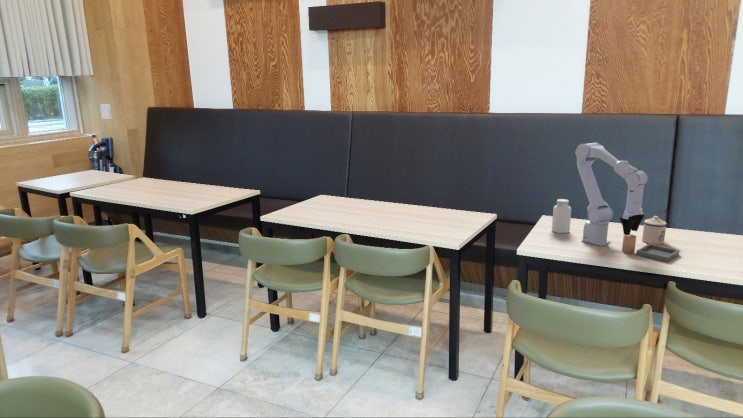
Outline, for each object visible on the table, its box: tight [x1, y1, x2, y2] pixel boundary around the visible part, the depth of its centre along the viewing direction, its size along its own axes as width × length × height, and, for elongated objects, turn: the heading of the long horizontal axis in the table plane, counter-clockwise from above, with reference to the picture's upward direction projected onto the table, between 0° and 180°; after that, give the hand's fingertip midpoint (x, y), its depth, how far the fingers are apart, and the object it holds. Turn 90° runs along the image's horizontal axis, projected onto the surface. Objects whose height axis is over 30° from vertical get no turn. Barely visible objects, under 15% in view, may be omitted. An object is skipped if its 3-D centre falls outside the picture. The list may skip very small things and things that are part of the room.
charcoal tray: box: [635, 243, 680, 263], centre depth 224 cm, size 12×13×2 cm
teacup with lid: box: [641, 215, 668, 246], centre depth 241 cm, size 12×9×12 cm
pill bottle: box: [551, 198, 572, 234], centre depth 255 cm, size 8×8×15 cm
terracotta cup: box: [621, 233, 637, 255], centre depth 228 cm, size 5×5×7 cm
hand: (630, 232), depth 226 cm, fingers open, 7 cm apart
